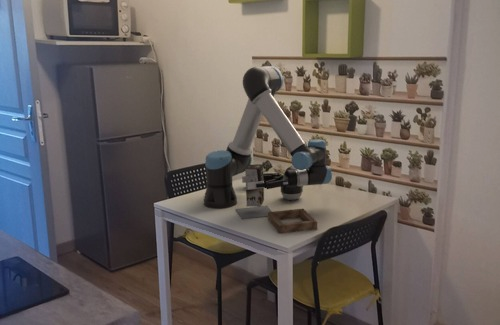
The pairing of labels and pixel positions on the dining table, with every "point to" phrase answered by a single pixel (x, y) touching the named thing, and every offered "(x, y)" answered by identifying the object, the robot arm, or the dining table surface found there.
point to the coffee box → (254, 175)
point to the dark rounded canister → (291, 190)
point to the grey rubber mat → (253, 212)
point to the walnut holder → (307, 222)
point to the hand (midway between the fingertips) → (244, 182)
